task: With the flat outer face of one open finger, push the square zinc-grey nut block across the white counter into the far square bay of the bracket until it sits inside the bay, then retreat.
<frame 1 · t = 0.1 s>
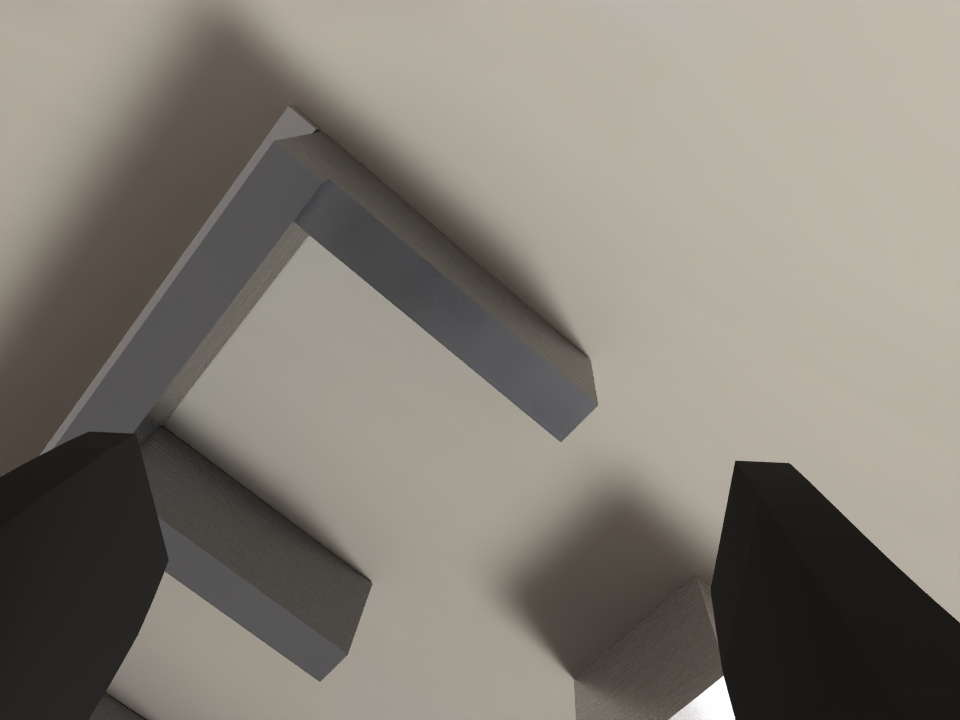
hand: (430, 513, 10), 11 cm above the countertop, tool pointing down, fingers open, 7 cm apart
bracket: (235, 503, 22), on the countertop
nut block: (694, 674, 23), on the countertop
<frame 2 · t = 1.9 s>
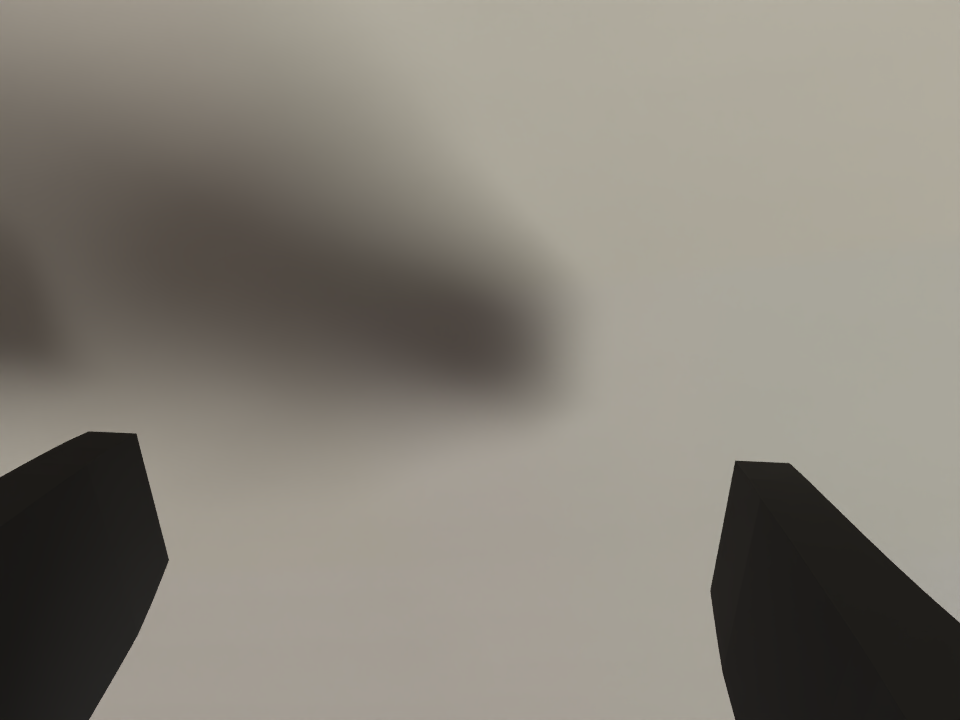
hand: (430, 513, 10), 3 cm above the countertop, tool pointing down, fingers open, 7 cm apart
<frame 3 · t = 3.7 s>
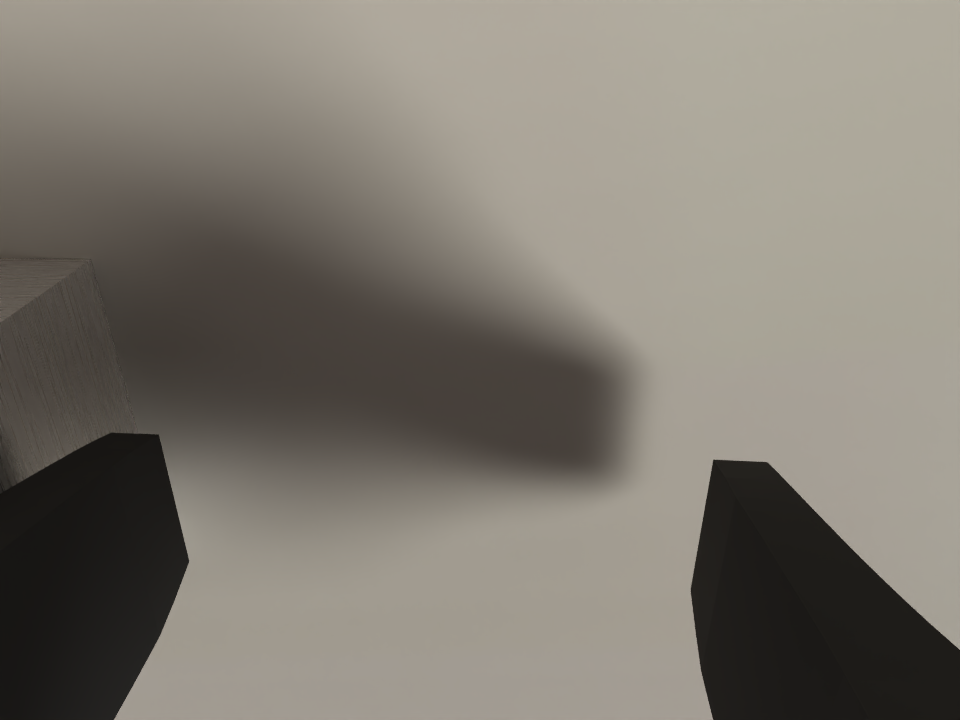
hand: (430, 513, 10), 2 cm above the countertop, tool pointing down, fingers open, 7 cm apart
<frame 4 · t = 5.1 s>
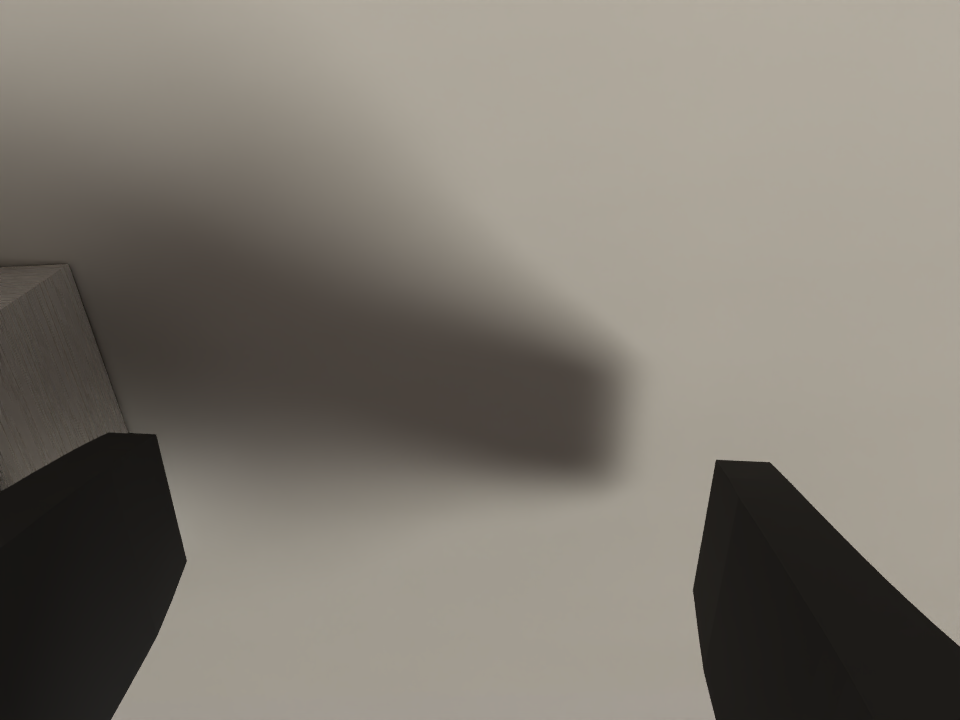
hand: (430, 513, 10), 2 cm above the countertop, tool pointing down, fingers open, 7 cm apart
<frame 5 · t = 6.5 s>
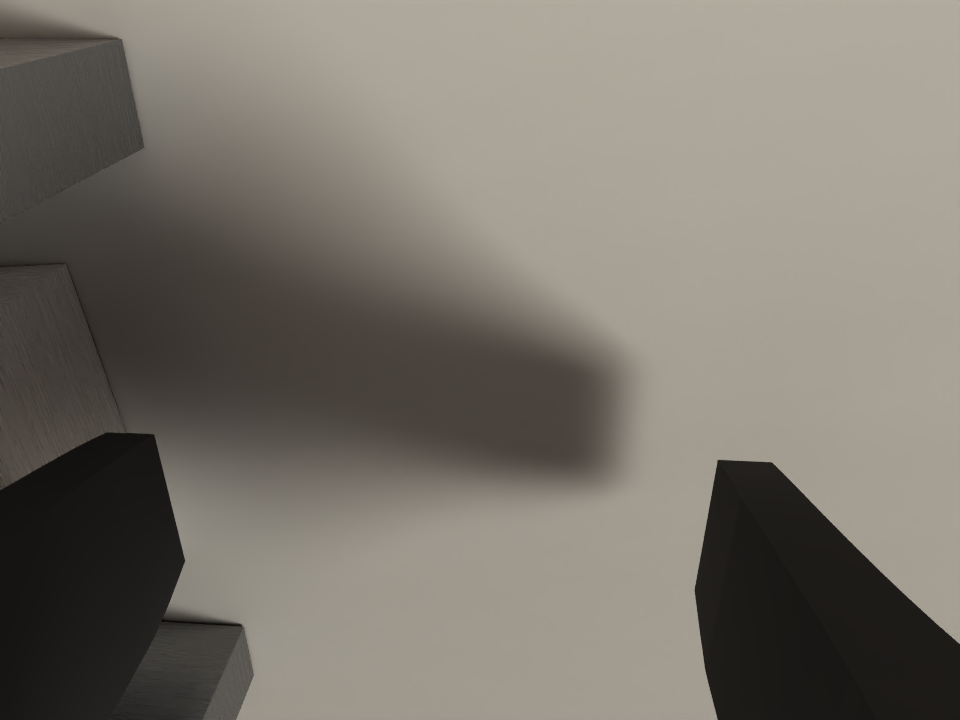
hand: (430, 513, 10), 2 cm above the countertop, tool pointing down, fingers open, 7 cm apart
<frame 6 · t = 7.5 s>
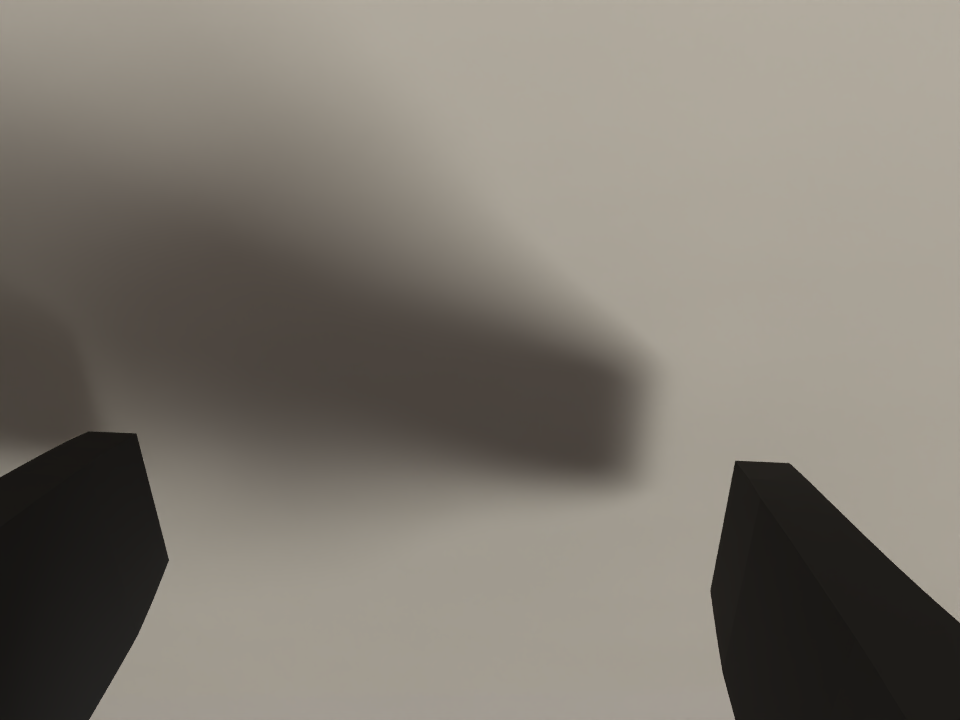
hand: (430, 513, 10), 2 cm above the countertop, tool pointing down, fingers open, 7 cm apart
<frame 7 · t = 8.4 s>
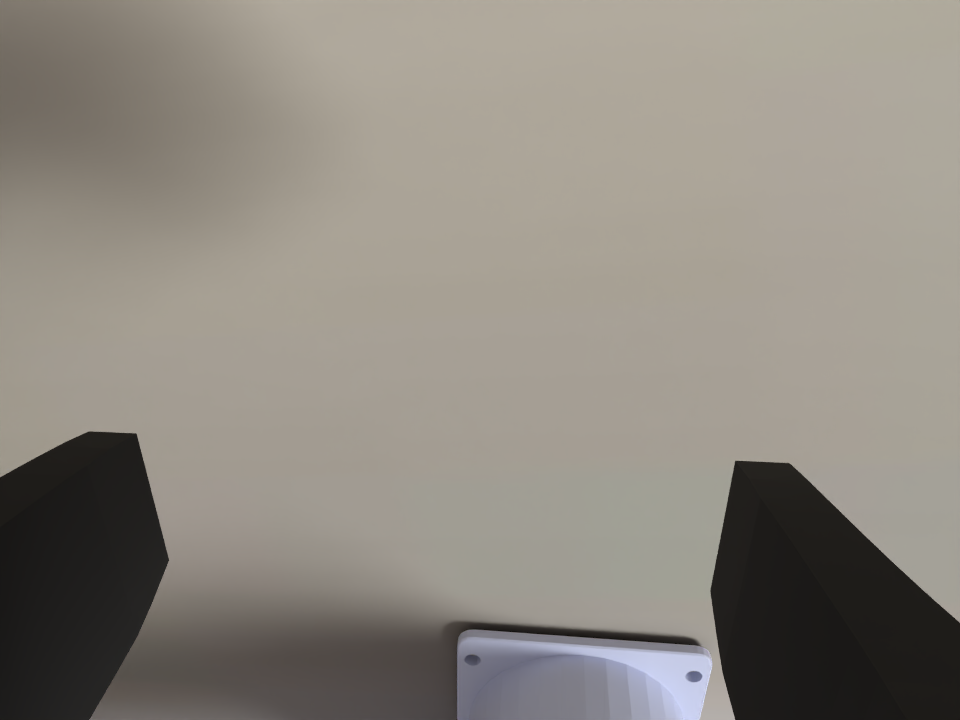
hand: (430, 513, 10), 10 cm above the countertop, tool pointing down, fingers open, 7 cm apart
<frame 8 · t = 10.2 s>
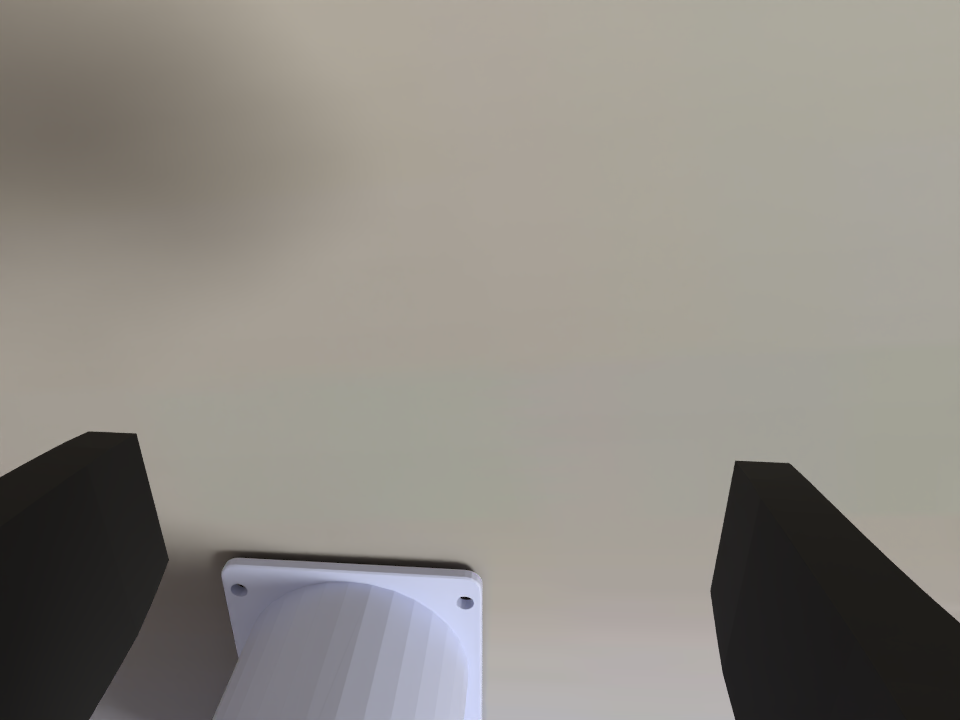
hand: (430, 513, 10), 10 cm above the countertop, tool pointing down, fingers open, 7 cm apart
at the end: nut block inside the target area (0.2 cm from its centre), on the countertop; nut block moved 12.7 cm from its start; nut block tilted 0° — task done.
